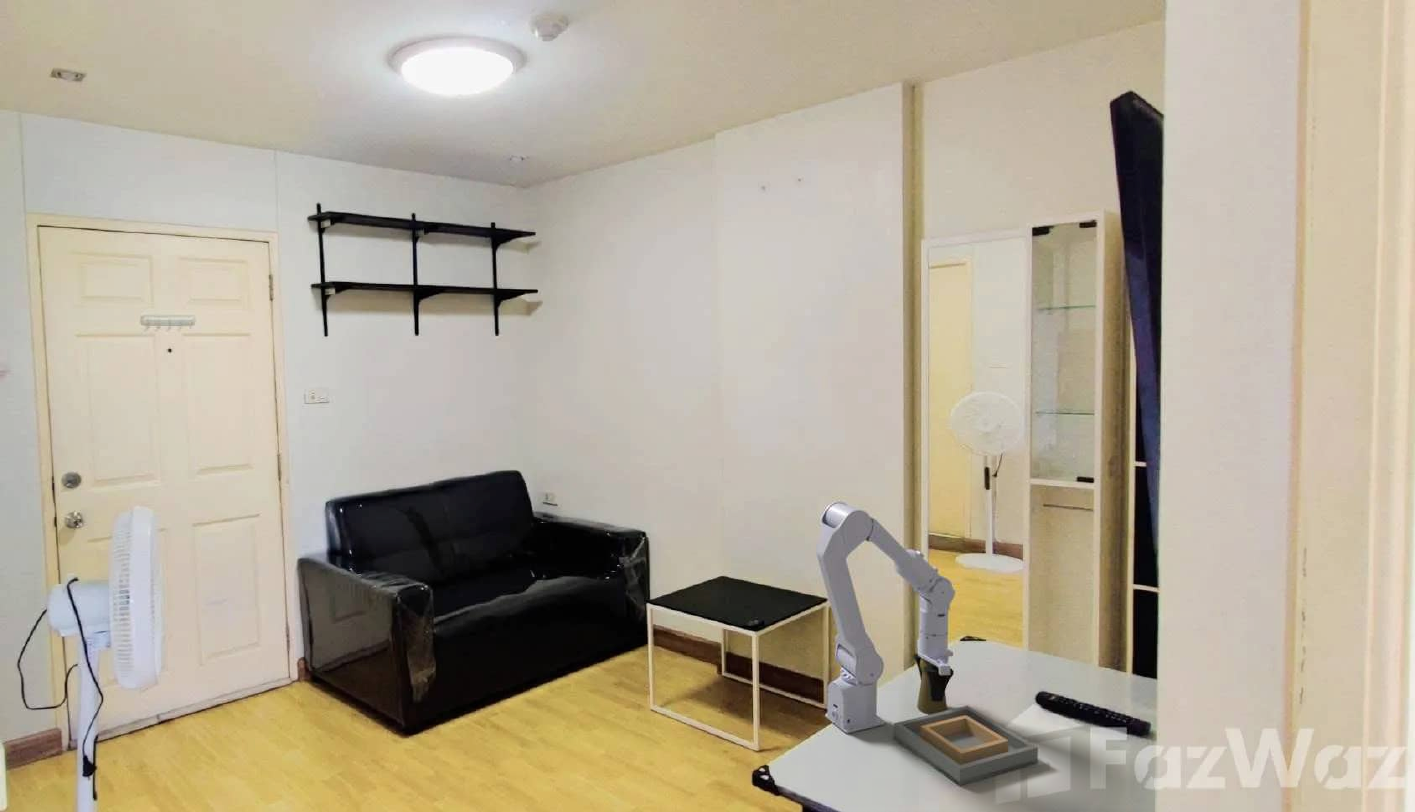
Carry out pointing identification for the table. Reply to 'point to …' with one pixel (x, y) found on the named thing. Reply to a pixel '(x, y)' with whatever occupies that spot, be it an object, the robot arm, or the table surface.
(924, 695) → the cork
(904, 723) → the tray
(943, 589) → the robot arm
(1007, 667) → the table surface
